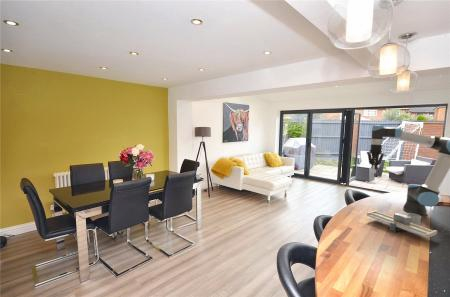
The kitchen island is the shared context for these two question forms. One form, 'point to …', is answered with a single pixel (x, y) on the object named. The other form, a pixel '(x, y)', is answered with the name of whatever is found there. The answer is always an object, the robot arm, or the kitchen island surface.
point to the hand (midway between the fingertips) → (373, 173)
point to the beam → (411, 227)
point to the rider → (402, 219)
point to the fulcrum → (394, 227)
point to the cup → (414, 218)
